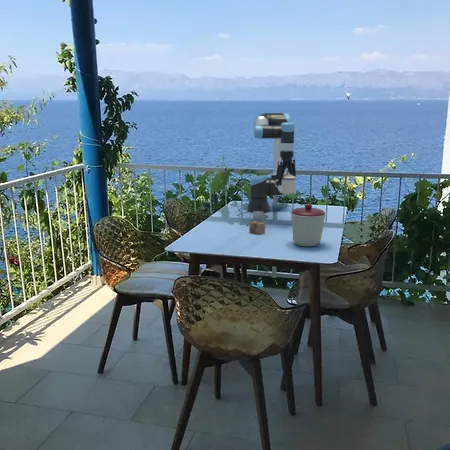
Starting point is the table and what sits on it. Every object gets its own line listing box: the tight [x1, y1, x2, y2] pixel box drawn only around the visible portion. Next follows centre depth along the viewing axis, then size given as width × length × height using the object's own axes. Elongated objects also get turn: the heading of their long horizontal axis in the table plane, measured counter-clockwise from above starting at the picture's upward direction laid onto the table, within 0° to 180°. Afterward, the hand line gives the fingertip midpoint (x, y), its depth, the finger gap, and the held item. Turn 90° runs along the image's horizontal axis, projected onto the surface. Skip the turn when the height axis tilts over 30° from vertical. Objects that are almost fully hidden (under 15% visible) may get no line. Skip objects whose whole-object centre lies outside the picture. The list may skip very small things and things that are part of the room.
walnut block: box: [248, 220, 266, 236], centre depth 261 cm, size 7×5×6 cm
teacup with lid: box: [275, 171, 297, 195], centre depth 271 cm, size 12×9×12 cm
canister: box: [289, 203, 327, 247], centre depth 238 cm, size 18×18×21 cm
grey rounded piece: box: [252, 211, 264, 223], centre depth 278 cm, size 6×6×8 cm
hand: (285, 189), depth 272 cm, fingers closed on teacup with lid, 9 cm apart
